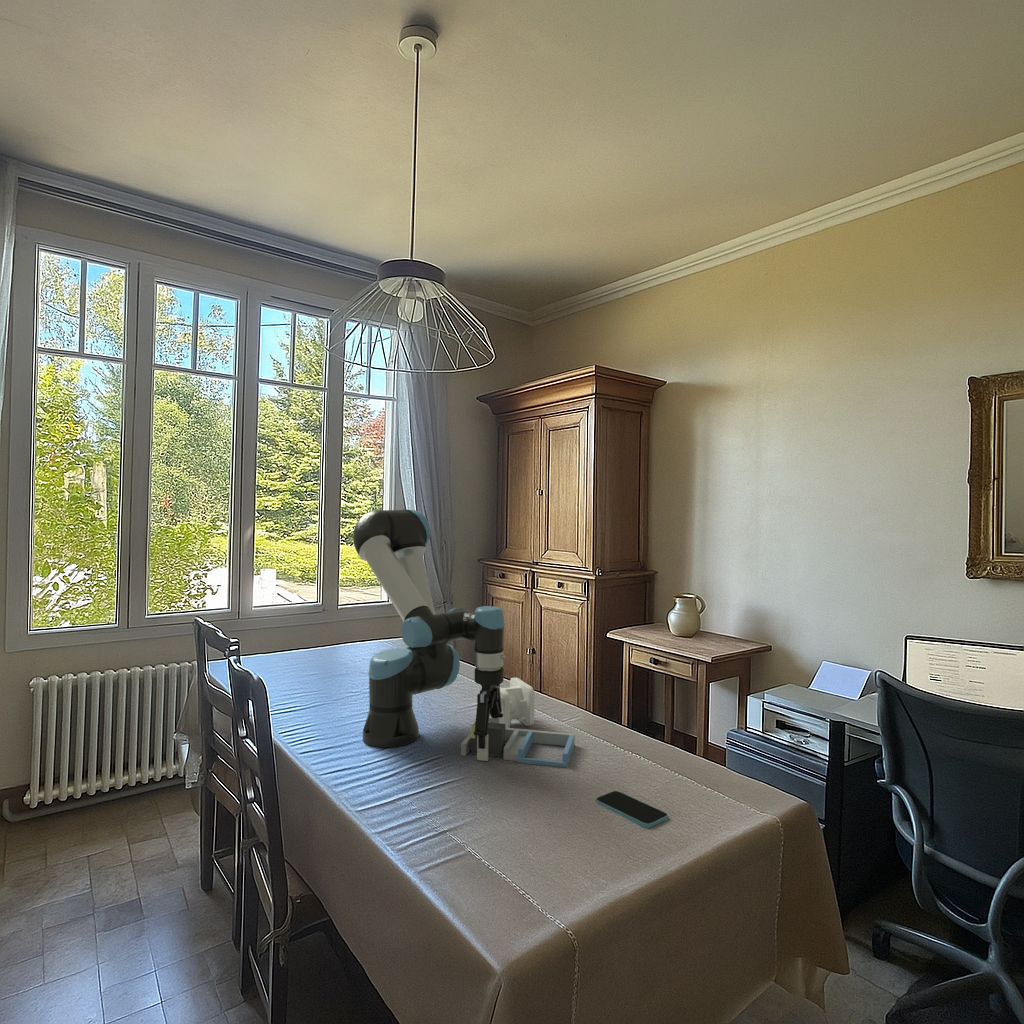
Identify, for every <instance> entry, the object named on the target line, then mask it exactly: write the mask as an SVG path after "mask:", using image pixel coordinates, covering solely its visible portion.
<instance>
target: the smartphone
mask: <svg viewBox="0 0 1024 1024" xmlns="http://www.w3.org/2000/svg"><path fill="white" fill-rule="evenodd" d="M595 802H596V803H597V804H598V805H601V806H602V807H604V808H607V809H608V810H610V811H611V812H614V813H616V814H618V815H619V816H622V817H623V818H625V819H627V820H629V821H630V822H632V823H635V824H636V825H639V826H641V827H643V828H647V829H649V828H650V829H651V828H652V827H655V826H657V825H659V824H662V822H665V821H667V820H669V814H668V813H667V812H666V811H663V810H661V809H659V808H657V807H655V806H652V805H650V804H648V803H645V802H643V801H641V800H639V799H636V798H634V797H633V796H630V795H628V794H626V793H624V792H621V791H619V790H613V791H611V792H608V793H605V794H603V795H600V796H598V797H596V798H595Z"/></svg>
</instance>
